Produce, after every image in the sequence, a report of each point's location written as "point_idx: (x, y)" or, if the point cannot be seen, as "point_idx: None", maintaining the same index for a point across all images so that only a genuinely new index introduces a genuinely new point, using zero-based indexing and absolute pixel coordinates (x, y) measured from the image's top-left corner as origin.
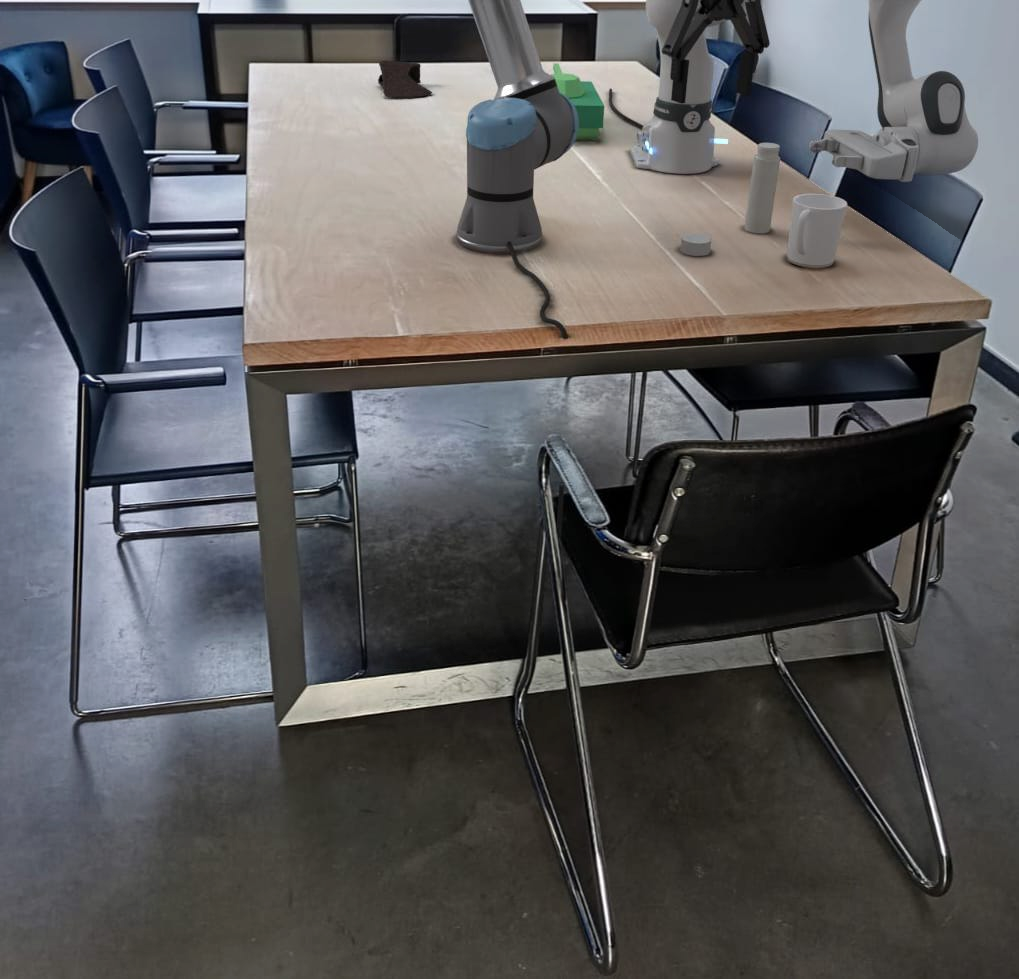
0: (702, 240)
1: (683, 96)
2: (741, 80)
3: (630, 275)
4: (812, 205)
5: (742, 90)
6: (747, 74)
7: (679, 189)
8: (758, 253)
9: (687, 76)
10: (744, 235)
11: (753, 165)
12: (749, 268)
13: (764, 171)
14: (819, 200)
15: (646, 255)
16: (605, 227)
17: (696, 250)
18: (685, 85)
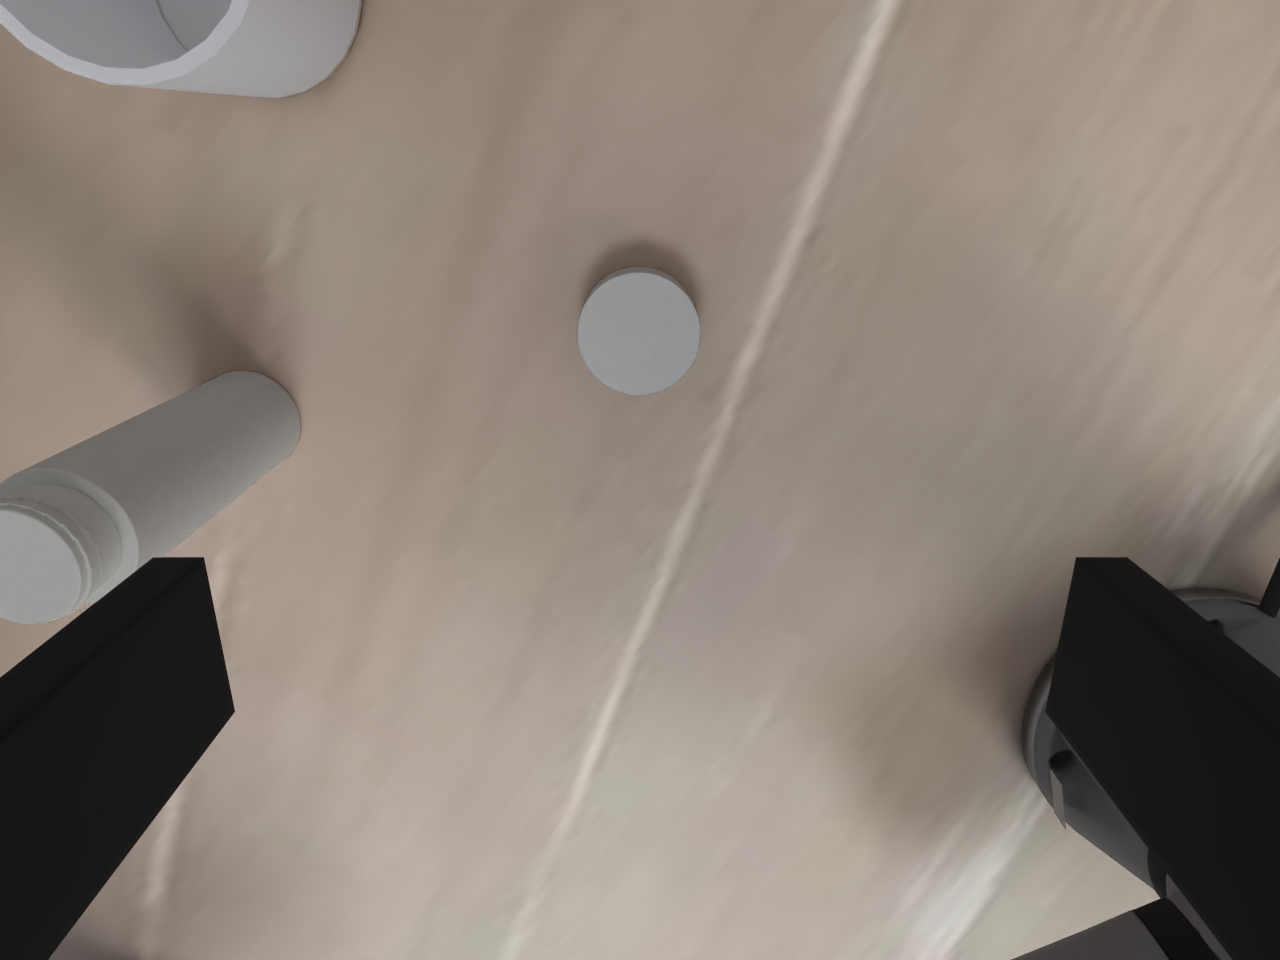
0: (633, 302)
1: (1145, 593)
2: (145, 748)
3: (1040, 220)
4: (97, 53)
5: (197, 647)
6: (65, 719)
7: (276, 874)
8: (414, 185)
9: (1275, 734)
10: (339, 387)
11: (161, 546)
12: (564, 49)
13: (140, 470)
14: (44, 28)
15: (834, 375)
16: (766, 674)
17: (674, 280)
18: (1211, 660)
